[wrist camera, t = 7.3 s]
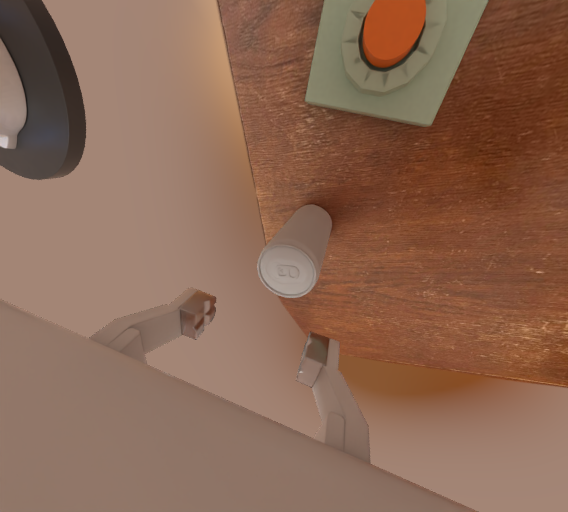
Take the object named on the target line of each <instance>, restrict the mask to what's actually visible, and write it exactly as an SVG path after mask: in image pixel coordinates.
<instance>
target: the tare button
mask: <svg viewBox="0 0 568 512" xmlns="http://www.w3.org/2000/svg"><path fill="white" fill-rule="evenodd" d="M425 17H426V2H425V0H375V1H374V2H373V4H372V5H371V7H370V9H369V11H368V14H367V16H366V20H365V24H364V32H363V51H364V54H365V57H366V59H367V60H368V61H369V62H370V63H371V64H372V65H374V66H376V67H379V68H386V67H390V66H393V65H395V64H397V63H398V62H400V61H401V60H402V59H403V58H404V57H405V56H406V55H407V54H408V53H409V51H410V50H411V48H412V47H413V45H414V43H415V42H416V40H417V38H418V36H419V35H420V33H421V30H422V28H423V25H424V22H425Z"/></svg>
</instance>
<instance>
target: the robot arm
mask: <svg viewBox="0 0 568 512" xmlns="http://www.w3.org/2000/svg"><path fill="white" fill-rule="evenodd" d="M26 115H27V107H26V98H25V93H24V89H23V86H22V82H21V79H20V77H19V74H18V71H17V69H16V66H15V64H14V62H13V60H12V58H11V56H10V54H9V52H8V50H7V48H6V47H5V45H4V43H3V42H2V40H1V38H0V146H1V147H3V148H9V149H15V148H16V146H17V135H18V133H19V131H20V130H21V129H22V128H23V126H24V124H25V121H26ZM215 303H216V297H215V296H212V295H210V294H207V293H205V292H202V291H200V290H197V289H194V288H188V289H187V290H186V291H184V292H183V293H182V294H181V295H180V296H179V297H177V298H176V299H175V300H174V301H173V302H171V303H170V304H169V305H167V304H165V305H162V306H159V307H155V308H151V309H148V310H145V311H141V312H138V313H135V314H131V315H128V316H124V317H121V318H118V319H115V320H113V321H112V322H110V323H109V324H108V325H106V326H105V327H103V328H102V329H101V330H99V331H98V332H96V333H95V334H94V335H92V336H91V337H89V338H86V337H84V336H82V335H80V334H78V333H75V332H73V331H71V330H69V329H66V328H64V327H62V326H59V325H57V324H55V323H53V322H51V321H48V320H46V319H44V318H42V317H39V316H37V315H35V314H33V313H30V312H28V311H26V310H24V309H22V308H19V307H17V306H15V305H13V304H10V303H8V302H6V301H4V300H2V299H0V512H478V511H475V510H473V509H471V508H469V507H466V506H464V505H462V504H460V503H457V502H455V501H453V500H451V499H448V498H446V497H444V496H442V495H439V494H437V493H435V492H433V491H430V490H428V489H426V488H424V487H421V486H419V485H417V484H415V483H412V482H410V481H408V480H406V479H403V478H401V477H399V476H397V475H394V474H392V473H390V472H388V471H385V470H383V469H381V468H379V467H376V466H374V465H372V464H370V447H369V429H368V424H367V422H366V420H365V418H364V416H363V414H362V412H361V410H360V409H359V407H358V405H357V403H356V401H355V399H354V397H353V395H352V393H351V391H350V389H349V387H348V385H347V383H346V381H345V379H344V377H343V375H342V373H341V372H339V371H338V363H339V348H340V343H339V341H336V340H333V339H331V338H328V337H325V336H322V335H319V334H317V333H314V332H311V331H310V333H309V336H308V340H307V342H306V344H305V347H304V350H303V353H302V357H301V364H300V366H299V369H298V374H297V378H296V381H298V382H300V383H303V384H305V385H307V386H309V387H311V388H312V390H313V393H314V397H315V400H316V403H317V407H318V410H319V414H320V417H321V421H322V424H321V426H320V428H319V429H318V431H317V433H316V434H315V436H314V437H313V438H311V437H309V436H307V435H305V434H302V433H300V432H298V431H295V430H293V429H291V428H289V427H287V426H284V425H282V424H280V423H278V422H275V421H273V420H271V419H269V418H266V417H264V416H262V415H260V414H257V413H255V412H253V411H250V410H248V409H246V408H244V407H242V406H239V405H237V404H235V403H233V402H230V401H228V400H226V399H224V398H221V397H219V396H217V395H215V394H212V393H210V392H208V391H206V390H203V389H201V388H199V387H197V386H194V385H192V384H190V383H188V382H185V381H183V380H181V379H179V378H176V377H174V376H172V375H170V374H167V373H165V372H163V371H161V370H158V369H156V368H154V367H152V366H149V365H147V362H146V357H145V354H146V353H148V352H150V351H152V350H154V349H156V348H158V347H160V346H162V345H164V344H166V343H168V342H170V341H172V340H174V339H176V338H177V337H180V336H181V335H185V336H187V337H189V338H192V339H195V340H197V338H198V337H199V336H200V335H201V333H202V332H203V331H204V326H206V325H208V324H210V322H211V321H212V320H213V318H214V316H215V312H216V308H215V306H214V304H215Z"/></svg>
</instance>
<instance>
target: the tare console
mask: <svg viewBox="0 0 568 512" xmlns="http://www.w3.org/2000/svg"><path fill="white" fill-rule="evenodd" d="M374 1H375V0H324V4H323V9H322V14H321V19H320V24H319V30H318V35H317V40H316V45H315V50H314V55H313V60H312V65H311V70H310V76H309V81H308V86H307V91H306V96H305V101H306V102H307V103H308V104H310V105H315V106H321V107H326V108H331V109H336V110H341V111H346V112H351V113H356V114H361V115H366V116H371V117H376V118H381V119H386V120H391V121H396V122H401V123H406V124H411V125H417V126H422V127H427V126H431V125H432V123H433V120H434V118H435V116H436V114H437V112H438V110H439V107H440V105H441V103H442V101H443V99H444V96H445V94H446V92H447V90H448V88H449V86H450V83H451V81H452V79H453V77H454V75H455V72H456V70H457V68H458V66H459V64H460V62H461V59H462V57H463V55H464V53H465V51H466V49H467V46H468V44H469V42H470V40H471V38H472V35H473V33H474V31H475V29H476V27H477V25H478V22H479V20H480V18H481V16H482V14H483V11H484V9H485V7H486V5H487V3H488V1H489V0H425V2H426V17H425V22H424V25H423V28H422V30H421V33H420V35H419V36H418V38H417V40H416V42H415V43H414V45H413V47H412V48H411V50H410V51H409V53H408V54H407V55H406V56H405V57H404V58H403V59H402V60H401V61H400V62H398V63H397V64H395V65H393V66H390V67H386V68H379V67H376V66H374V65H372V64H371V63H370V62H369V61H368V60H367V59H366V57H365V54H364V51H363V32H364V24H365V20H366V16H367V14H368V11H369V9H370V7H371V5H372V4H373V2H374Z"/></svg>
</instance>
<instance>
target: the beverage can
mask: <svg viewBox="0 0 568 512" xmlns="http://www.w3.org/2000/svg"><path fill="white" fill-rule="evenodd" d="M331 229H332V220H331V218H330V216H329V214H328V213H327V212H326V211H325V210H324V209H323V208H321V207H319V206H316V205H305V206H302V207H301V208H299V209H298V210H297V211H296V212H295V213H294V214H293V216H292V217H291V218H290V219H289V220H288V221H287V222H286V223H285V225H284V226H283V227H282V228H281V229H280V230H279V231H278V233H277V234H276V235H275V236H274V237H273V238H272V239H271V240H270V242H269V243H268V244H267V245H266V246H265V248H264V249H263V250H262V252H261V255H260V257H259V260H258V263H257V271H258V275H259V277H260V279H261V281H262V283H263V284H264V285H265V286H266V287H267V288H268V289H269V290H270V291H271V292H273V293H275V294H277V295H279V296H282V297H286V298H296V297H301V296H303V295H305V294H307V293H308V292H309V291H310V290H311V289H312V288H313V286H314V285H315V284H316V282H317V280H318V278H319V274H320V271H321V267H322V263H323V259H324V256H325V252H326V248H327V244H328V241H329V237H330V233H331Z"/></svg>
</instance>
